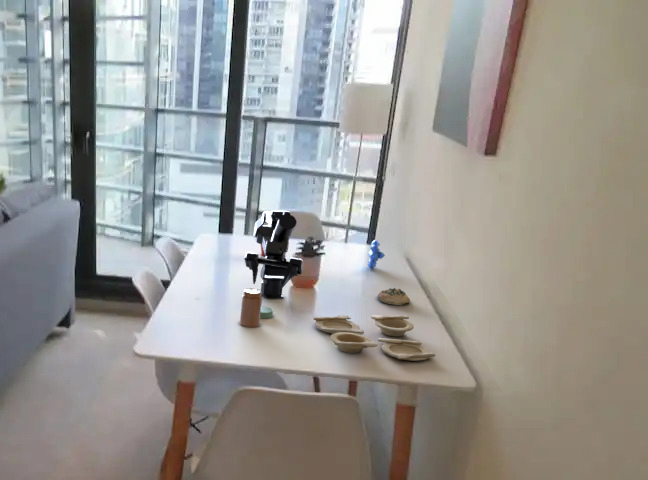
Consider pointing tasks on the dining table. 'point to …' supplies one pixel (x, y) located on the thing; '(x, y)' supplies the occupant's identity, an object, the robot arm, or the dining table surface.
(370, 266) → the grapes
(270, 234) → the robot arm
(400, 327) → the tableware set
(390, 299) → the bread roll
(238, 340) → the dining table surface
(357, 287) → the dining table surface
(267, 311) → the lid
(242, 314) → the jar
